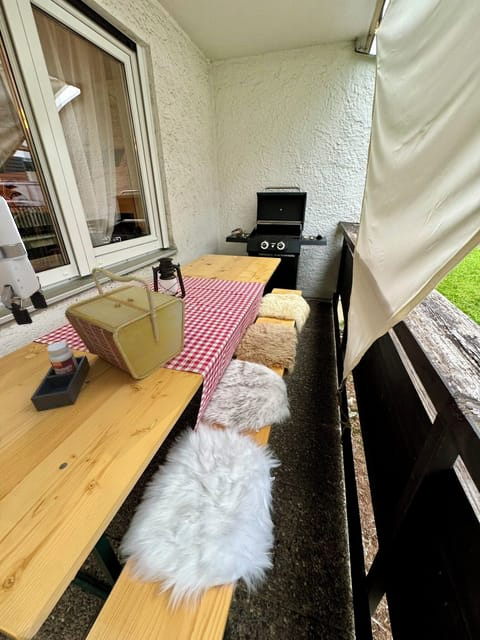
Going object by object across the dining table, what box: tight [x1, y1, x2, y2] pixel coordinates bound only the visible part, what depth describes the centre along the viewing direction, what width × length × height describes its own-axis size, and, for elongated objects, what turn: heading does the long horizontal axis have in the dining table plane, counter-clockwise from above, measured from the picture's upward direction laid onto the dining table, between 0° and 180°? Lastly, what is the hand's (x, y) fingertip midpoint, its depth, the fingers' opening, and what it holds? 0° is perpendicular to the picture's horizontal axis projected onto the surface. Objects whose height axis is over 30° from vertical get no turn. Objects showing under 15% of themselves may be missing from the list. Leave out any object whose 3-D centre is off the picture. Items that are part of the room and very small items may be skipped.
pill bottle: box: [46, 340, 78, 375], centre depth 78 cm, size 6×6×11 cm
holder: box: [29, 354, 91, 412], centre depth 77 cm, size 9×17×5 cm, turn 14°
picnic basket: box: [64, 267, 186, 380], centre depth 84 cm, size 29×26×30 cm
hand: (34, 315), depth 70 cm, fingers open, 9 cm apart
